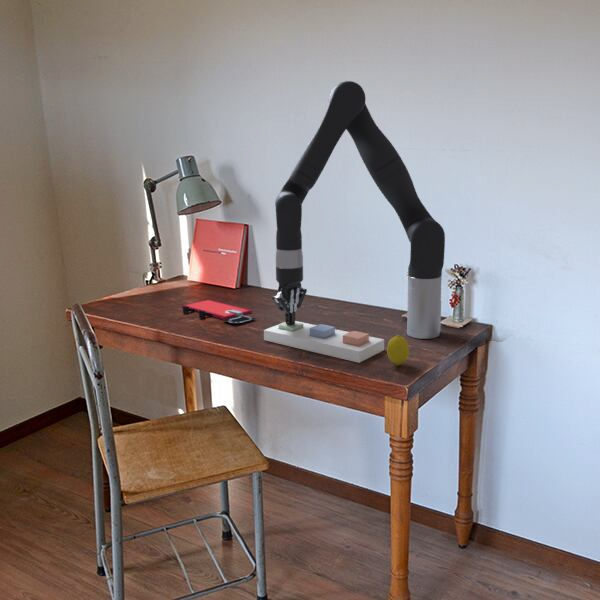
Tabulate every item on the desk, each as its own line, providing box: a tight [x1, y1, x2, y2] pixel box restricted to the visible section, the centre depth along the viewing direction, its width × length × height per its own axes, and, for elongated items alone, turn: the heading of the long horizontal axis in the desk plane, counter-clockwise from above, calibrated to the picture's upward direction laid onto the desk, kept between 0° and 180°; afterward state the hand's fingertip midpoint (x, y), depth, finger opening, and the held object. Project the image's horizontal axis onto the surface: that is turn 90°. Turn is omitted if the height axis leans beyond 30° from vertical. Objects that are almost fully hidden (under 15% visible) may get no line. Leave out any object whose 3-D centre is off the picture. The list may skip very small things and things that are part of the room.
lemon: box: [386, 334, 410, 367], centre depth 178 cm, size 6×6×8 cm
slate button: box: [309, 323, 336, 339], centre depth 194 cm, size 5×5×2 cm
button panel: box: [263, 320, 385, 364], centre depth 195 cm, size 12×32×3 cm, turn 52°
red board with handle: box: [180, 299, 257, 325], centre depth 227 cm, size 30×3×15 cm
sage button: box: [278, 321, 303, 332], centre depth 201 cm, size 5×5×2 cm
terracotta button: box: [343, 330, 370, 347], centre depth 188 cm, size 5×5×2 cm
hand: (290, 324), depth 201 cm, fingers closed
